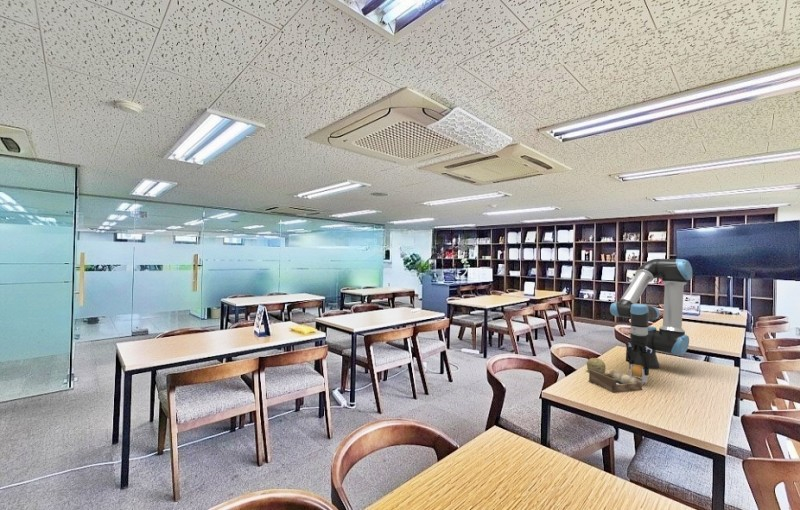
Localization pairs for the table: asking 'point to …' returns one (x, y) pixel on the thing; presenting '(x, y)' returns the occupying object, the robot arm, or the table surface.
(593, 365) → the decorative item
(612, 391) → the mat
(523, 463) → the table surface
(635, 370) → the ball
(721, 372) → the table surface
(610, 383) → the brown wooden tray
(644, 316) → the robot arm
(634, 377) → the grey square frame
